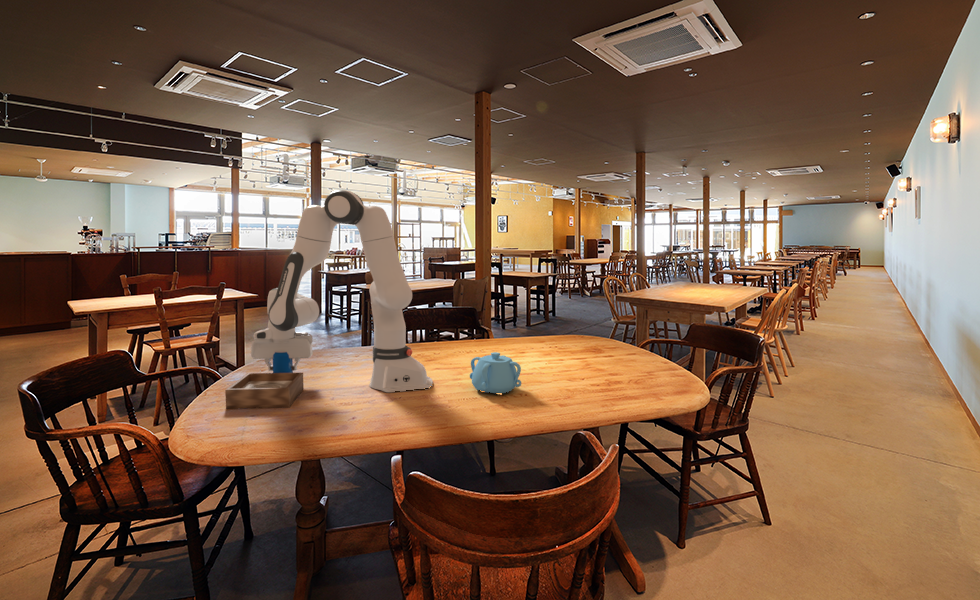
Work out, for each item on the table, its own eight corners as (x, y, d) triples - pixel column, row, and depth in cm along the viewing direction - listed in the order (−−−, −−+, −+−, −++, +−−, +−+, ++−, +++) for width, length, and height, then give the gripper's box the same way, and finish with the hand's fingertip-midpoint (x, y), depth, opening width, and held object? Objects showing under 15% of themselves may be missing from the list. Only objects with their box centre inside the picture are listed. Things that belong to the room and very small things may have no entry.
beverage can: (285, 386, 163) (284, 352, 161) (269, 384, 164) (268, 351, 162) (296, 381, 169) (296, 348, 168) (280, 379, 170) (280, 347, 169)
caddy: (303, 389, 159) (303, 372, 159) (289, 407, 142) (288, 388, 141) (247, 390, 157) (247, 373, 156) (226, 409, 139) (225, 389, 138)
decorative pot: (510, 383, 174) (511, 347, 172) (523, 396, 158) (524, 357, 156) (468, 384, 170) (468, 348, 168) (476, 398, 154) (477, 358, 153)
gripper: (314, 330, 169) (315, 367, 170) (254, 330, 166) (256, 368, 167) (310, 334, 163) (311, 372, 164) (248, 334, 160) (249, 373, 161)
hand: (282, 370), depth 166 cm, fingers closed on beverage can, 6 cm apart
